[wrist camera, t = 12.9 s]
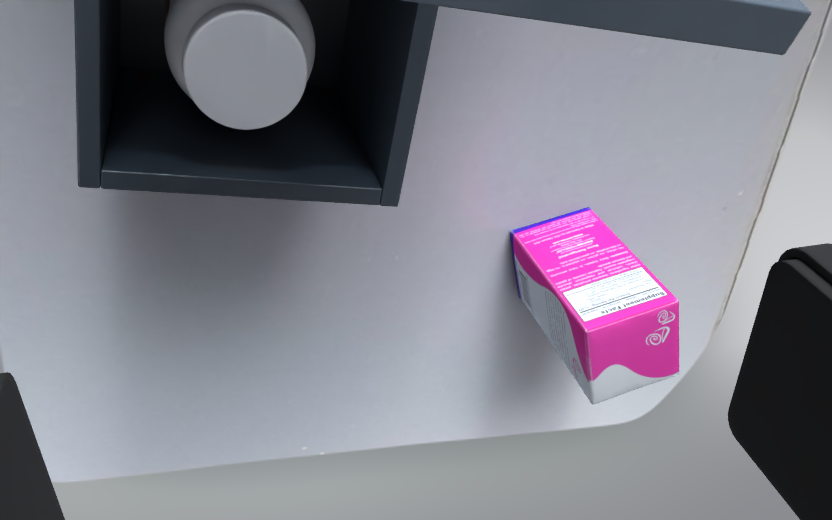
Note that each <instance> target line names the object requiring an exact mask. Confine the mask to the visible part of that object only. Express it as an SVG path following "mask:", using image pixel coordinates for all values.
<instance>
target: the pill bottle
mask: <svg viewBox="0 0 832 520" xmlns="http://www.w3.org/2000/svg"><path fill="white" fill-rule="evenodd" d="M164 45H165V53H166V57H167V61H168V64H169V67H170V70H171V72H172V74H173V76H174V78H175V80H176V82H177V83H178V85H179V86H180V88H181V89H182V90H183V91H184V92H185V93H186V94H187V95H188V96H189V97H190V98H191V99H192V100H193V101H194V103H195V104H196V105H197V107H198V108H199V109H200V110H201V111H202V112H203V113H204V114H205V115H207V116H208V117H209V118H211V119H212V120H214V121H216V122H217V123H220V124H222V125H224V126H227V127H231V128H235V129H243V130H251V129H258V128H263V127H267V126H269V125H272V124H274V123H276V122H278V121H280V120H281V119H283V118H284V117H285V116H287V115H288V114H289V113H290V112H291V111H292V110H293V109H294V108H295V107H296V105H297V104H298V102H299V101H300V99H301V97H302V95H303V93H304V90H305V87H306V82H307V81H308V79H309V76H310V74H311V71H312V68H313V64H314V58H315V36H314V31H313V27H312V24H311V21H310V18H309V15H308V13H307V11H306V9H305V7H304V5H303V3H302V1H301V0H166V11H165V27H164Z"/></svg>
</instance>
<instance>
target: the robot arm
mask: <svg viewBox="0 0 832 520" xmlns="http://www.w3.org/2000/svg"><path fill="white" fill-rule="evenodd" d="M728 421H729V426H730V429H731V431H732V434H733V435H734V437H735V438H736V440H737V441H738V442H739V443H740V445H741V446H742V447H743V448H744V449H745V451H746V452H747V453H748V455H749V456H750V457H751V458H752V460H753V461H754V462H755V463H756V465H757V466H758V467H759V468H760V470H761V471H762V472H763V473H764V475H765V476H766V477H767V479H768V480H769V481H770V482H771V484H772V485H773V486H774V487H775V489H776V490H777V491H778V492H779V494H780V495H781V496H782V497H783V498H784V500H785V501H786V502H787V504H788V505H789V506H790V507H791V509H792V510H793V511H794V512H795V514H796V515H797V516H798V517H799V519H800V520H832V244H820V245H814V246H806V247H799V248H792V249H789V250H787V251H785V252H784V253H783V254H782V255H781V257H780V259H779V261H778V262H776V263H775V264H774V265H773V266H772V267H771V269H770V271H769V275H768V278H767V281H766V285H765V288H764V291H763V295H762V298H761V301H760V305H759V308H758V312H757V315H756V318H755V322H754V325H753V328H752V332H751V335H750V339H749V342H748V346H747V349H746V352H745V356H744V359H743V363H742V366H741V369H740V373H739V376H738V380H737V383H736V386H735V390H734V393H733V396H732V400H731V403H730V407H729V412H728ZM0 520H65V519H64V516H63V513H62V510H61V508H60V505H59V502H58V499H57V496H56V494H55V491H54V488H53V485H52V482H51V480H50V477H49V474H48V471H47V468H46V466H45V463H44V460H43V457H42V454H41V452H40V449H39V446H38V443H37V440H36V438H35V435H34V432H33V429H32V426H31V424H30V421H29V418H28V415H27V412H26V409H25V407H24V404H23V401H22V398H21V395H20V393H19V390H18V387H17V384H16V382H15V380H14V377H13V376H12V375H11V373H0Z"/></svg>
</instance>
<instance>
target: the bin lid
mask: <svg viewBox="0 0 832 520" xmlns="http://www.w3.org/2000/svg"><path fill="white" fill-rule="evenodd" d="M401 1H408V2H415V3H422V4H429V5H436V6H443V7H450V8H457V9H464V10H471V11H478V12H485V13H492V14H499V15H506V16H513V17H520V18H527V19H534V20H541V21H548V22H555V23H562V24H569V25H576V26H583V27H590V28H597V29H604V30H611V31H618V32H625V33H632V34H639V35H646V36H653V37H660V38H667V39H674V40H681V41H688V42H695V43H702V44H709V45H716V46H723V47H730V48H737V49H744V50H751V51H758V52H765V53H772V54H779V55H784V54H785V53H786V51H787V50H788V48H789V47H790V45H791V44H792V42H793V41H794V39H795V38H796V36H797V35H798V33H799V32H800V30H801V29H802V27H803V25H804V24H805V22H806V21H807V19H808V18H809V16H810V15H811V11H810V10H809V9H808V8H807V7H806V6H805V5H804V4H803V3H802V2H801V1H800V0H401Z"/></svg>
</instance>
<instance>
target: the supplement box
mask: <svg viewBox="0 0 832 520" xmlns="http://www.w3.org/2000/svg"><path fill="white" fill-rule="evenodd" d="M510 238H511V246H512V253H513V261H514V267H515V274H516V280H517V287H518V293H519V297H520V299H521V300H522V301H523V302H524V304H525V305H526V307H527V308H528V310H529V311H530V312H531V314H532V315H533V317H534V318H535V320H536V321H537V323H538V324H539V326H540V327H541V329H542V330H543V332H544V333H545V335H546V336H547V338H548V339H549V341H550V342H551V344H552V345H553V347H554V348H555V350H556V351H557V353H558V354H559V356H560V357H561V359H562V360H563V362H564V363H565V365H566V366H567V368H568V369H569V370H570V372H571V373H572V375H573V376H574V378H575V379H576V381H577V382H578V384H579V385H580V387H581V388H582V390H583V391H584V393H585V394H586V396H587V397H588V399H589V400H590V402H591V403H592V404H597V403H600V402H603V401H605V400H608V399H610V398H613V397H616V396H618V395H621V394H624V393H626V392H629V391H632V390H635V389H638V388H640V387H643V386H646V385H649V384H652V383H655V382H658V381H661V380H664V379H667V378H670V377H673V376H676V375H678V374H679V301H678V299H677V298H676V297H675V296H674V295H673V294H672V293H671V292H670V291H669V290H668V289H667V288H666V287H665V286H664V285H663V284H662V283H661V282H660V281H659V280H658V279H657V278H656V277H655V276H654V275H653V274H652V273H651V271H650V270H649V269H648V268H647V267H646V266H645V265H644V264H643V263H642V262H641V261H640V260H639V259H638V258H637V257H636V256H635V255H634V254H633V253H632V252H631V251H630V250H629V248H628V247H627V246H626V245H625V244H624V243H623V242H622V241H621V240H620V239H619V238H618V237H617V236H616V235H615V234H614V233H613V232H612V231H611V230H610V229H609V228H608V227H607V226H606V224H605V223H604V222H603V221H602V220H601V219H600V218H599V217H598V216H597V215H596V214H595V213H594V212H593V211H592V210H591V209H590V208H589V207H587V208H584V209H581V210H578V211H574V212H571V213H568V214H565V215H561V216H558V217H555V218H552V219H548V220H545V221H542V222H539V223H535V224H532V225H529V226H525V227H521V228H518V229H514V230H511V231H510Z"/></svg>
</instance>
